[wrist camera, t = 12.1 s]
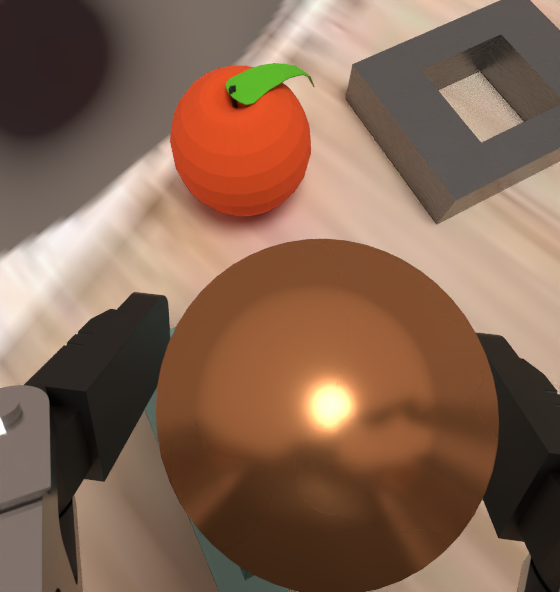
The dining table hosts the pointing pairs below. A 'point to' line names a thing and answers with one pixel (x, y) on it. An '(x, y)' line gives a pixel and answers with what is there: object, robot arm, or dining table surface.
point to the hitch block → (442, 117)
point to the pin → (327, 416)
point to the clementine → (242, 138)
